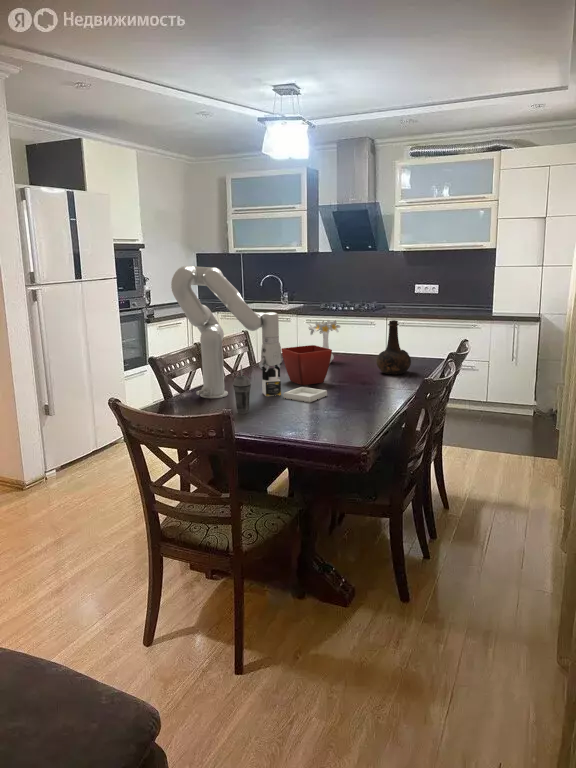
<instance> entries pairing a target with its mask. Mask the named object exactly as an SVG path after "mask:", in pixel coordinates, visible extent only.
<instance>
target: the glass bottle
mask: <svg viewBox="0 0 576 768" xmlns="http://www.w3.org/2000/svg"><path fill="white" fill-rule="evenodd" d="M388 321H389V322H388V324H387V326H388V337H387V338H388V339H387V346H386V348H385V350H382V351H381V352H380V353H379V354H378V355H377V357H376V361H375V362H376V365H377V368H378V370H379V371H380V372H382V373H384V374H386V375H390V374H392V376H393V375H397V374H398V375H402V374H404V373H406V372H407V371H408V370H409V369H410V368H411V364H412V359H411V357H410V354H409V353H408V352H407V351H406V350H405V349H401V347H400V341H399V330H398V329H399V328H398V326H399V325H400V323H399V321H398V320H396V319H395V320H393V319H392V320H388Z"/></svg>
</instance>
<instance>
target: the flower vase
mask: <svg viewBox="0 0 576 768" xmlns="http://www.w3.org/2000/svg"><path fill="white" fill-rule="evenodd" d="M326 321H327V322H325V320H322V322H321V321H319V322H318V321H315V323H314V325H315V326H313V325H312V324H311V323H310V322H309V323H308V325H309V326H308V329H309V331H310V336H312V335H314V334H315V333H316V332H318V331H319V335H320V334H322V347H324V348H328V349H330V348H329V334H330V332H333V331H335V332H336V333H339V329H340V328H341V325H338V324H337V320H336V319H335V320H333V321H331V320H330V319H327V320H326ZM334 358H335V357H334V354H333V353H332V354H331V360H330V364H331V363H332V361H333V360H334Z"/></svg>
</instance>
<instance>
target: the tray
mask: <svg viewBox="0 0 576 768" xmlns="http://www.w3.org/2000/svg"><path fill="white" fill-rule="evenodd" d="M325 396H326V397H327V396H328V390H326V389H319V388H312V387H306V386H300V387H297V388H293V389H291V390H289V391H288V390H287V391H286V392H283V399H285V398H286V399H287V400H291V399H292V400H291V401H298V402H303V401H304V402H305V403H308V404H309V403H312V402H315V401H318V400H320V399H323V398H325ZM317 399H318V400H317Z"/></svg>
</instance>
